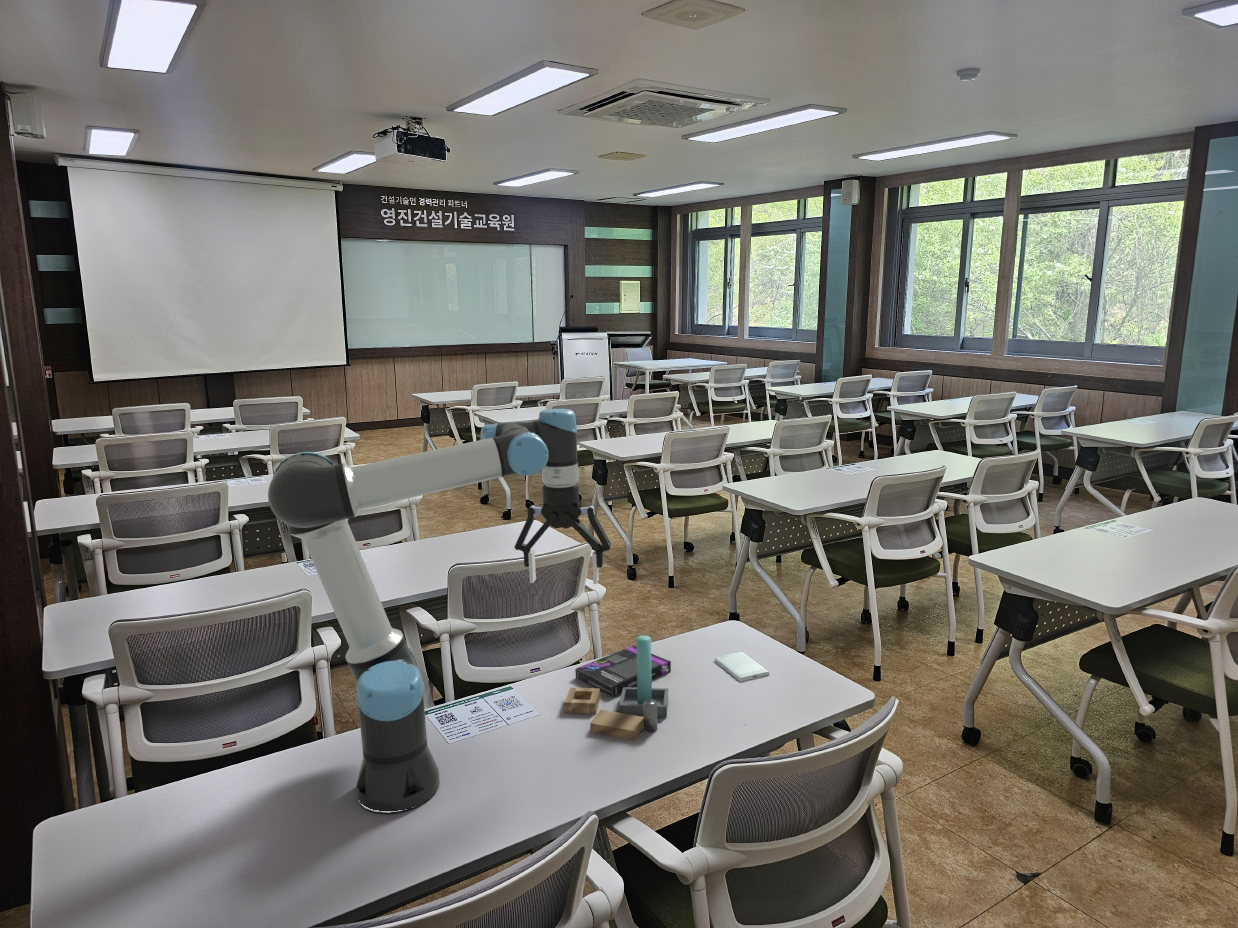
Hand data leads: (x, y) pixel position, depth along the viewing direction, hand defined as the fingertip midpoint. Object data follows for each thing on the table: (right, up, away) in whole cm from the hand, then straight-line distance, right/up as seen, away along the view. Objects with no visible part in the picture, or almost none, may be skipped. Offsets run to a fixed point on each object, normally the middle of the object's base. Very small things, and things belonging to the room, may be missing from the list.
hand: (564, 581), depth 167 cm
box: (+13, -28, +26) cm, 40 cm away
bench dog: (+18, -32, +1) cm, 37 cm away
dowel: (+17, -29, +10) cm, 36 cm away
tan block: (+11, -32, +1) cm, 34 cm away
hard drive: (+42, -26, +29) cm, 57 cm away
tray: (+17, -30, +10) cm, 36 cm away
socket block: (+3, -30, +12) cm, 32 cm away
